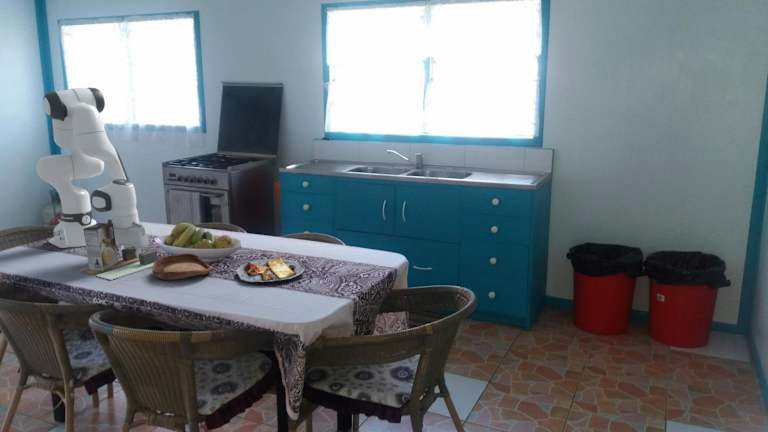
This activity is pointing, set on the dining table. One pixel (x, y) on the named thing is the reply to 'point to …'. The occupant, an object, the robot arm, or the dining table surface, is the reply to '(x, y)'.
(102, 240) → the coffee box
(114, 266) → the walnut strip
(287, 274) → the food plate
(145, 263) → the sage strip
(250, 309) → the dining table surface
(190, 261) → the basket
